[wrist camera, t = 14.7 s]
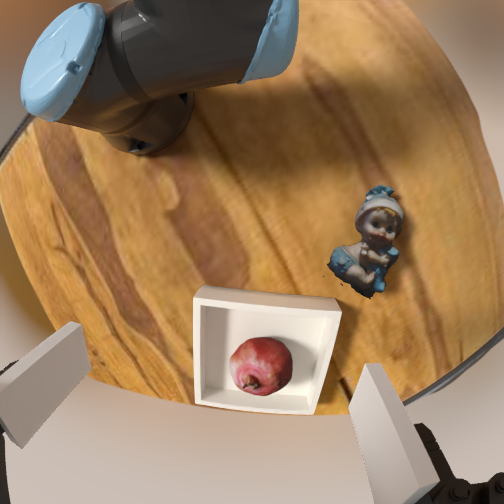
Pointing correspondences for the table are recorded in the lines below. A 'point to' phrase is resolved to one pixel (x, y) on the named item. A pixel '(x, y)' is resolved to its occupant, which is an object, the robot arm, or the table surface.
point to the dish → (262, 325)
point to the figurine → (370, 244)
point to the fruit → (261, 366)
